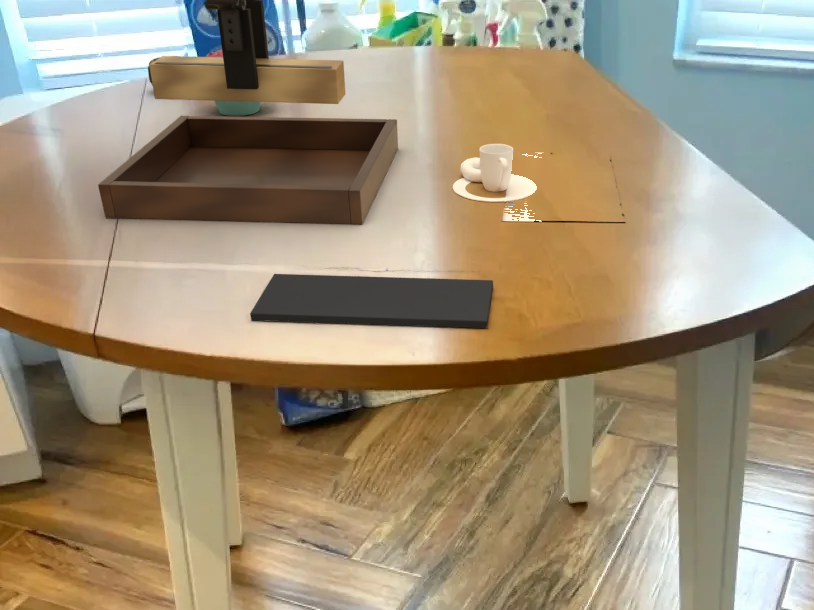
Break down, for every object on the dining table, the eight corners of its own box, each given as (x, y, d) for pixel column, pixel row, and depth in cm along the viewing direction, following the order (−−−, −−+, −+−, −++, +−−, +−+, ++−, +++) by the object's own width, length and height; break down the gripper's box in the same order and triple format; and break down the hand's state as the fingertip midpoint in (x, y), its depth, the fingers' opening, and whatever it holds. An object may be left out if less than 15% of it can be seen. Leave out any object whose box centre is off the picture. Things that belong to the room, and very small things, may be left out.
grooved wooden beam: (154, 99, 88) (148, 63, 86) (167, 89, 90) (162, 55, 89) (338, 104, 86) (335, 68, 85) (345, 94, 89) (343, 59, 87)
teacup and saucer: (455, 175, 95) (455, 133, 93) (536, 176, 95) (537, 134, 92) (449, 206, 88) (449, 161, 85) (537, 207, 87) (538, 162, 85)
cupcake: (274, 100, 119) (262, -6, 112) (275, 119, 112) (262, 7, 105) (203, 104, 118) (187, -3, 111) (200, 123, 111) (182, 10, 104)
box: (106, 223, 85) (97, 184, 83) (186, 148, 103) (180, 115, 101) (362, 230, 83) (360, 190, 81) (398, 153, 101) (397, 119, 99)
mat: (250, 320, 69) (249, 313, 68) (274, 280, 75) (273, 273, 74) (487, 328, 68) (487, 320, 67) (493, 287, 73) (493, 279, 73)
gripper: (229, -238, 67) (266, 107, 81) (285, -231, 81) (309, 63, 94) (125, -238, 68) (179, 104, 81) (198, -232, 81) (234, 61, 95)
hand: (249, 81), depth 88 cm, fingers closed on grooved wooden beam, 3 cm apart
